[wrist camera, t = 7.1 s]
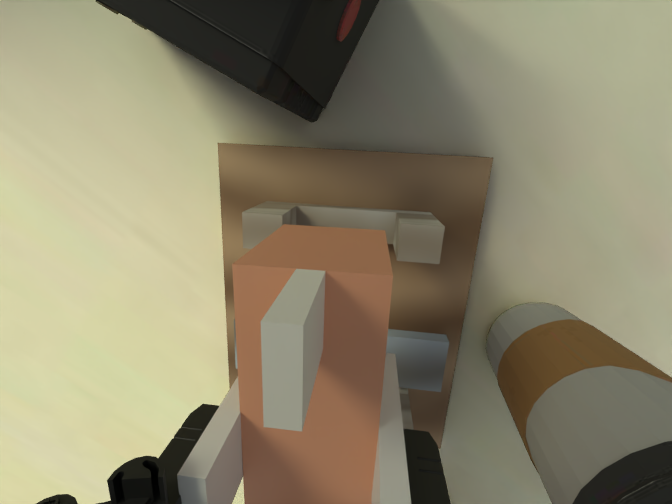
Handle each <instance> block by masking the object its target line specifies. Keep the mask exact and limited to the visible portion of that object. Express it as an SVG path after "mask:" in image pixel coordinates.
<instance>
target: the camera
mask: <svg viewBox="0 0 672 504" xmlns="http://www.w3.org/2000/svg"><path fill="white" fill-rule="evenodd" d="M96 2H97V3H99V4H100V5H102V6H104V7H105V8H107V9H109V10H111V11H112V12H114V13H116V14H118V13H120V14H122V15H124V16H126V17H128V18H130V19H131V20H132V22H134V23H135V24H137V25H139V26H140V27H142V28H144V29H146V30H147V29H149V30H150V31H152V32H154V33H155V34H157V35H159V36H160V37H162V38H164V39H165V40H167V41H169V42H171V43H172V44H174V45H176V46H177V47H179V48H181V49H182V50H184V51H186V52H188V53H189V54H191V55H193V56H194V57H196V58H198V59H199V60H201V61H203V62H205V63H206V64H208V65H210V66H211V67H213V68H215V69H216V70H218V71H220V72H221V73H223V74H225V75H227V76H228V77H230V78H232V79H233V80H235V81H237V82H238V83H240V84H242V85H244V86H245V87H247V88H249V89H250V90H252V91H254V92H255V93H257V94H259V95H261V96H263V97H265V98H266V99H268V100H270V101H273V102H274V103H276V104H278V105H280V106H282V107H284V108H286V109H287V110H289V111H291V112H293V113H295V114H297V115H299V116H301V117H302V118H304V119H306V120H308V121H310V122H315V121H316V120H317V119H318V117H319V115H320V113H321V111H322V109H323V108H324V109H325V107H326V105H327V103H328V102H329V100H330V98H331V96H332V93H333V91H334V89H335V87H336V85H337V83H338V81H339V79H340V77H341V75H342V73H343V71H344V69H345V67H346V65H347V63H348V61H349V59H350V57H351V55H352V53H353V51H354V49H355V47H356V45H357V43H358V41H359V39H360V37H361V35H362V33H363V31H364V29H365V27H366V25H367V23H368V21H369V19H370V17H371V15H372V13H373V11H374V9H375V7H376V5H377V4H378V2H379V0H96Z"/></svg>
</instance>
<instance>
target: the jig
mask: <svg viewBox="0 0 672 504" xmlns="http://www.w3.org/2000/svg"><path fill="white" fill-rule="evenodd" d="M218 156H219V177H220V197H221V218H222V239H223V259H224V280H225V301H226V321H227V342H228V363H229V383H230V388H231V386H232V385H233V383H234V382H235V380H236V378H237V377H238V366H237V347H236V328H235V309H234V291H233V272H232V264H233V263H234V262H235V261H237V260H238V259H239V258H241V257H242V256H243V255H245V254H246V253H247V252H248V251H250V250H251V249H252V248H254V247H255V246H256V245H258V244H259V243H260V242H261V241H263V240H264V239H265V238H267V237H268V236H269V235H271V234H272V233H273V232H274V231H276V230H277V229H278V228H280V227H281V226H282V225H284V224H288V225H304V226H321V227H338V228H355V229H371V230H385V233H386V238H387V244H388V250H389V255H390V261H391V267H392V272H393V282H392V293H391V303H390V314H389V325H388V336H387V346H386V353H393V354H395V357H396V366H397V375H398V384H399V394H400V403H401V412H402V422H403V428H404V429H411V430H419V431H427V432H429V433H430V434H431V436H432V437H433V439H434V440H435V442H436V443H437V445H438V448H440V447H441V442H442V436H443V431H444V426H445V420H446V415H447V409H448V404H449V398H450V393H451V387H452V382H453V376H454V371H455V365H456V360H457V354H458V349H459V343H460V338H461V332H462V327H463V321H464V316H465V310H466V305H467V299H468V294H469V288H470V283H471V277H472V272H473V266H474V261H475V255H476V250H477V244H478V239H479V233H480V228H481V222H482V217H483V211H484V206H485V200H486V195H487V189H488V184H489V178H490V173H491V167H492V162H493V158H490V157H471V156H452V155H434V154H415V153H396V152H378V151H359V150H340V149H321V148H303V147H284V146H265V145H247V144H228V143H218Z"/></svg>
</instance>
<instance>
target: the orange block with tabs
mask: <svg viewBox="0 0 672 504" xmlns="http://www.w3.org/2000/svg"><path fill="white" fill-rule="evenodd" d="M232 272H233V291H234V309H235V328H236V347H237V366H238V385H239V404H240V414H241V442H242V461H243V479H244V498H245V504H372V487H373V478H374V469H375V460H376V451H377V442H378V432H379V422H380V411H381V400H382V390H383V379H384V368H385V357H386V346H387V336H388V325H389V314H390V303H391V293H392V282H393V272H392V267H391V261H390V255H389V250H388V244H387V238H386V233H385V230H371V229H355V228H338V227H321V226H304V225H288V224H284V225H282V226H281V227H280V228H278V229H277V230H276V231H274V232H273V233H272V234H271V235H269V236H268V237H267V238H265V239H264V240H263V241H261V242H260V243H259V244H258V245H256V246H255V247H254V248H252V249H251V250H250V251H248V252H247V253H246V254H245V255H243V256H242V257H241V258H239V259H238V260H237V261H235V262H234V263H233V264H232Z"/></svg>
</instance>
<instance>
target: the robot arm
mask: <svg viewBox="0 0 672 504" xmlns="http://www.w3.org/2000/svg"><path fill="white" fill-rule="evenodd" d="M242 477H243V461H242V442H241V414H240V404H239V385H238V377H237V378H236V380H235V382H234V383H233V385H232V386H231V388H230V390H229V391H228V393H227V395H226V396H225V398H224V399H223V401H222V403H221V404H220V406H216V405H208V404H202V405H201V406H200V407H198V408H197V409H196V410H195V411H193V412H192V413H191V414H190V415H189V416H188V418H187V419H186V420H185V422H184V423H183V425H182V427H181V429H179V430H178V432H177V433H176V434H175V436H174V439H172V440H171V442H170V443H169V444H168V446H167V447H166V449H165V450H164V451H163V453H162V454H161V456H160V457H159V458H156V457H152V456H143V457H138V458H135V459H133V460H130V461H128V462H126V463H124V464H123V465H122V466H120V467H119V468H118V469H117V470H115V471H114V472H113V474H112V475H111V476H110V478H109V479H108V480H107V482H108V487H109V492H110V498H111V501H108V502H104V503H98V504H232V502H233V499H234V497H235V494H236V492H237V489H238V487H239V485H240V482H241V480H242ZM37 504H77V501H76V499H75V497H73V496H71V495H69V494H62V495H55V496H52V497H49V498H46V499H44V500H42V501H40V502H38V503H37ZM372 504H450V499H449V495H448V490H447V485H446V481H445V476H444V472H443V467H442V463H441V458H440V454H439V449H438V445H437V443H436V442H435V440H434V439H433V437H432V436H431V434H430V433H429V432H427V431H419V430H411V429H404V428H403V422H402V412H401V403H400V394H399V384H398V375H397V366H396V357H395V354H393V353H386V357H385V368H384V379H383V390H382V400H381V411H380V422H379V432H378V442H377V451H376V460H375V469H374V478H373V487H372Z"/></svg>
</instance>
